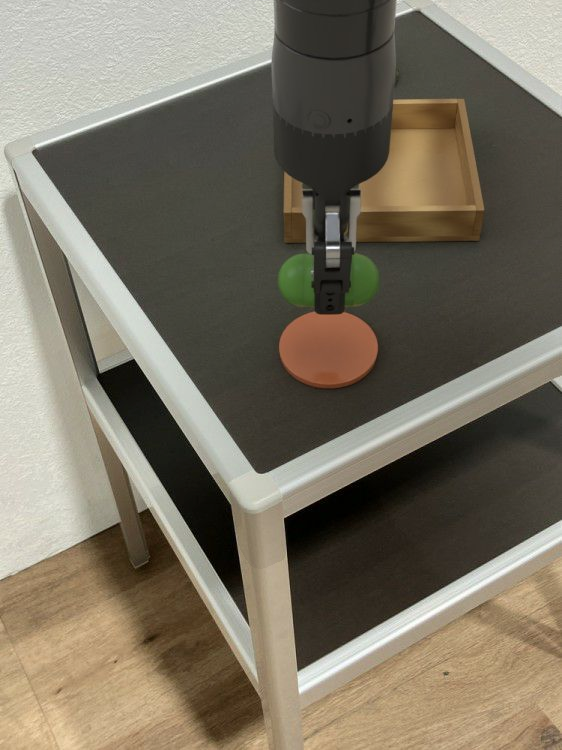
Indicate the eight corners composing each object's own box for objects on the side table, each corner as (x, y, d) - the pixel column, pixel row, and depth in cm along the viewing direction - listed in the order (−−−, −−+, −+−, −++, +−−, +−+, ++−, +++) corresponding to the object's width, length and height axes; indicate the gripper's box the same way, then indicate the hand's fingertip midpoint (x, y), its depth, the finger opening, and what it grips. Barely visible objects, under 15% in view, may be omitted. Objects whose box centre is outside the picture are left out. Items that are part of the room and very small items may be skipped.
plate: (375, 314, 81) (375, 309, 80) (380, 388, 76) (380, 383, 75) (279, 314, 81) (279, 310, 81) (278, 389, 76) (278, 384, 76)
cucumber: (376, 279, 75) (379, 241, 72) (379, 317, 72) (382, 279, 69) (278, 280, 75) (277, 242, 72) (277, 318, 73) (276, 280, 70)
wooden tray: (459, 129, 97) (464, 98, 94) (479, 241, 86) (484, 210, 83) (286, 131, 97) (285, 101, 94) (284, 243, 87) (283, 212, 84)
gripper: (401, 165, 55) (383, 360, 68) (387, 29, 64) (373, 225, 77) (270, 166, 55) (277, 360, 69) (274, 31, 64) (280, 225, 78)
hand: (328, 287), depth 73 cm, fingers closed on cucumber, 4 cm apart
